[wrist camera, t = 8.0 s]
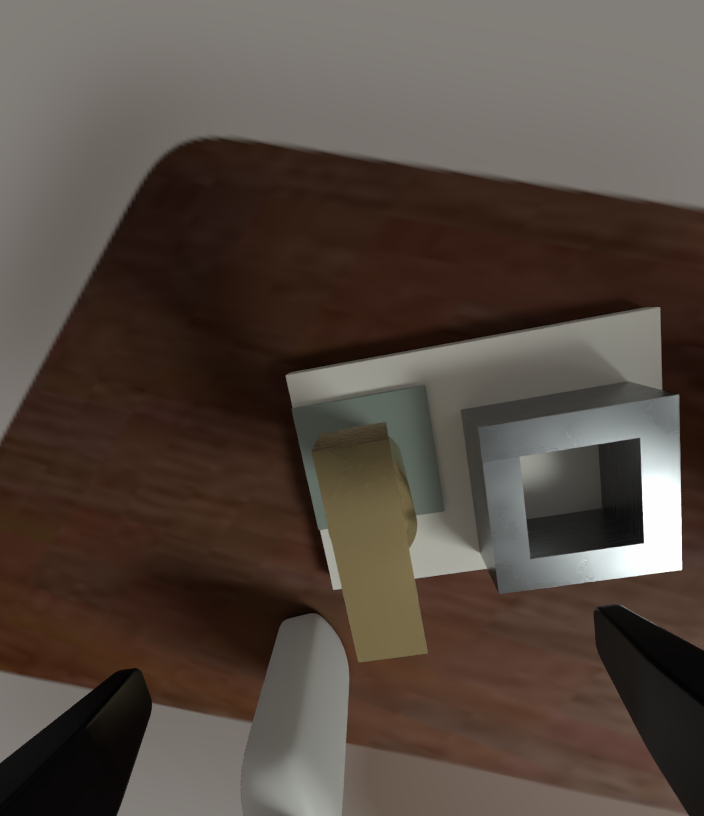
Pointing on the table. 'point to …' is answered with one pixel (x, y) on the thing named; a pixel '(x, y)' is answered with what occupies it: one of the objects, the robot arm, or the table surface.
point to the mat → (404, 426)
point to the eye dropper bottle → (299, 725)
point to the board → (490, 384)
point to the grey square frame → (619, 474)
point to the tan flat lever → (372, 538)
